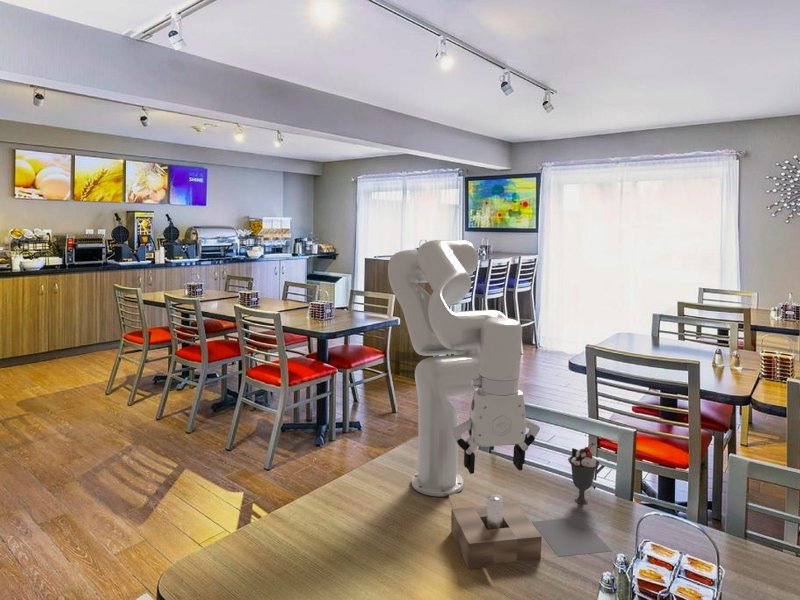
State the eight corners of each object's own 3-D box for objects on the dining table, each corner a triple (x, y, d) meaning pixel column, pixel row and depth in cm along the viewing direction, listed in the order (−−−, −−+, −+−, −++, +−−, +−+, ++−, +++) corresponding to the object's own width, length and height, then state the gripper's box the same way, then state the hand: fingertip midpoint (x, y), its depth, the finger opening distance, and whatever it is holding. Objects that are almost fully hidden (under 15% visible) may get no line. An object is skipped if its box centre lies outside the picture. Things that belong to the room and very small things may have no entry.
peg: (484, 542, 104) (485, 494, 102) (498, 540, 104) (500, 493, 103) (489, 551, 101) (490, 502, 100) (504, 549, 101) (505, 501, 100)
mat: (531, 524, 110) (531, 521, 110) (580, 519, 112) (580, 517, 112) (558, 559, 98) (558, 556, 98) (611, 553, 100) (612, 550, 100)
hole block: (451, 531, 107) (451, 508, 107) (515, 525, 110) (516, 503, 109) (468, 569, 96) (469, 543, 95) (540, 561, 98) (541, 536, 97)
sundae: (599, 513, 115) (603, 447, 113) (567, 509, 116) (570, 445, 114) (594, 498, 121) (598, 436, 119) (564, 495, 122) (567, 433, 120)
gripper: (459, 392, 93) (455, 481, 96) (550, 389, 96) (544, 475, 99) (448, 379, 101) (445, 462, 103) (533, 376, 103) (528, 457, 106)
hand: (493, 468), depth 101 cm, fingers open, 9 cm apart
